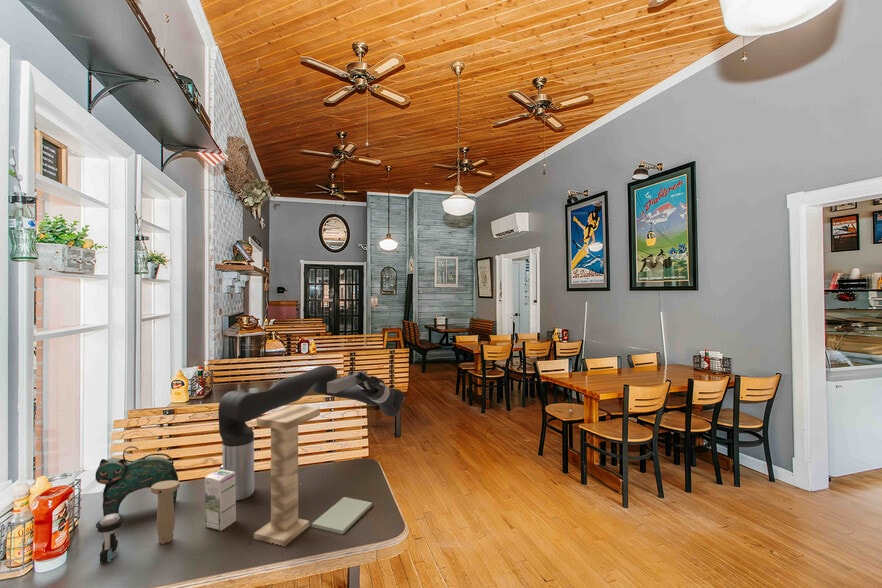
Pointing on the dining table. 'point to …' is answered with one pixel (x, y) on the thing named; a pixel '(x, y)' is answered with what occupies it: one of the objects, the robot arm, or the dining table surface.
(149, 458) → the ceramic cat
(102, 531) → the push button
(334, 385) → the long grey plank
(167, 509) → the handle
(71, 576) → the dining table surface
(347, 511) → the mat
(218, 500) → the syrup box
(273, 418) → the stand
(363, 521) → the dining table surface
